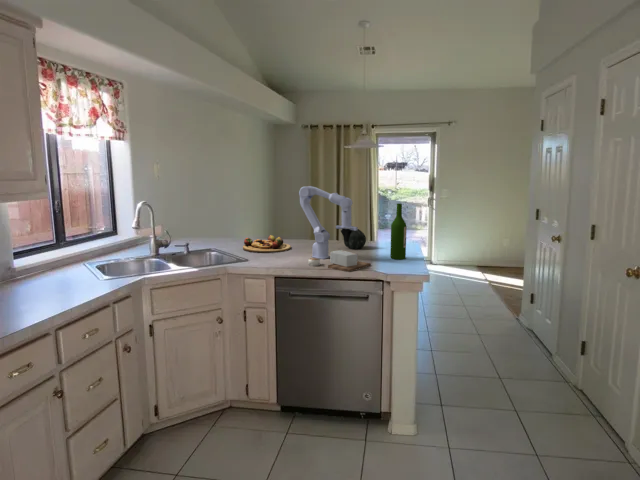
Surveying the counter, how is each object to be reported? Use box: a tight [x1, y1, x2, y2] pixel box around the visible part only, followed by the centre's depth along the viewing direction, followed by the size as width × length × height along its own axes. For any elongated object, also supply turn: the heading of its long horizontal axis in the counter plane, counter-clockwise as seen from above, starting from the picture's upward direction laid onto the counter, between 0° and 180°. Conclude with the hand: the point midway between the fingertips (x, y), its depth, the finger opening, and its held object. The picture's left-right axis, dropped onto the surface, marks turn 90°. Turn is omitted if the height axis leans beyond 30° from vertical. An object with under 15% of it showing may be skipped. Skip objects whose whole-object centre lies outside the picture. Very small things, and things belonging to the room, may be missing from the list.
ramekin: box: [307, 257, 321, 267], centre depth 251 cm, size 6×6×4 cm
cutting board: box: [327, 260, 372, 273], centre depth 247 cm, size 14×20×2 cm
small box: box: [329, 249, 358, 267], centre depth 247 cm, size 8×6×13 cm
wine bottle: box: [389, 203, 407, 261], centre depth 267 cm, size 9×9×32 cm
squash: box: [343, 228, 367, 250], centre depth 302 cm, size 14×15×15 cm
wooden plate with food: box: [242, 234, 292, 254], centre depth 302 cm, size 32×32×8 cm
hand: (346, 241), depth 265 cm, fingers closed
